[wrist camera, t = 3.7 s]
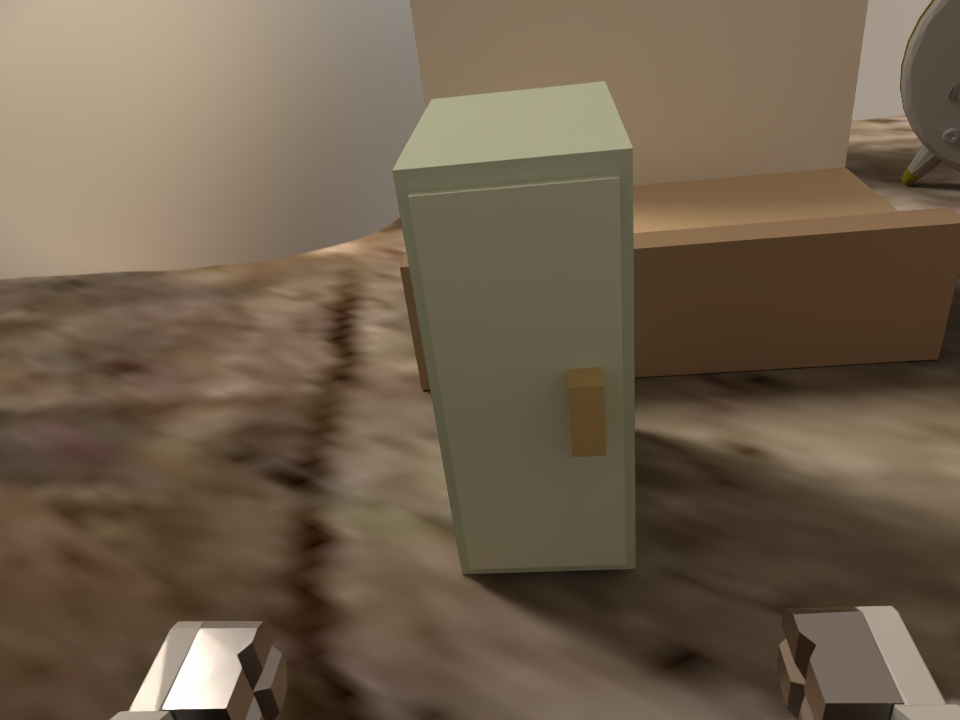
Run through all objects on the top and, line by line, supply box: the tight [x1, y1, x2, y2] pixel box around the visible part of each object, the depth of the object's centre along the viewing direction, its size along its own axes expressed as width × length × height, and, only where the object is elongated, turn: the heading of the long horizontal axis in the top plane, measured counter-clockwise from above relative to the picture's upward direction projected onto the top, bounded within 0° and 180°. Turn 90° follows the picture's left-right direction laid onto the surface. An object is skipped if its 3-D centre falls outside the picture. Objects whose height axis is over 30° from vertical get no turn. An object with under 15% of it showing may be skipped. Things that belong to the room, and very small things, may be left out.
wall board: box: [400, 0, 960, 390], centre depth 30 cm, size 20×14×22 cm
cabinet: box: [393, 81, 636, 574], centre depth 21 cm, size 5×8×12 cm, turn 176°
